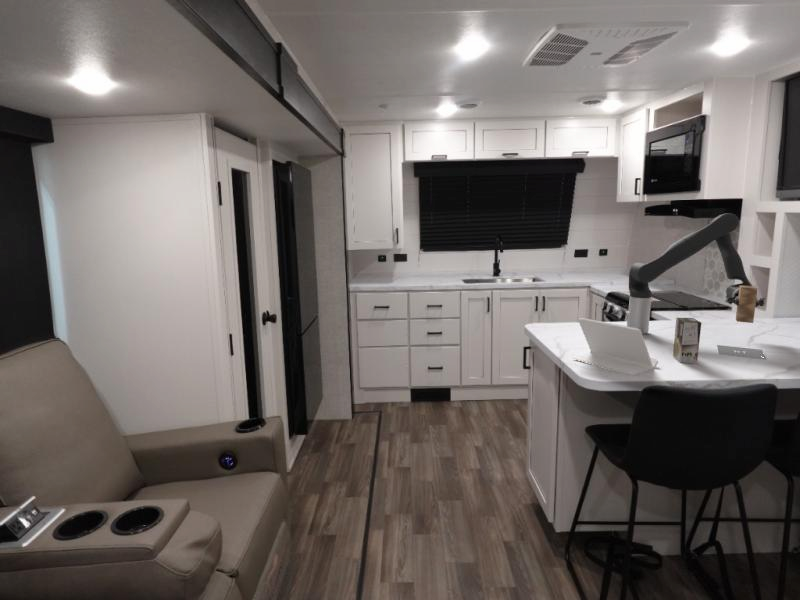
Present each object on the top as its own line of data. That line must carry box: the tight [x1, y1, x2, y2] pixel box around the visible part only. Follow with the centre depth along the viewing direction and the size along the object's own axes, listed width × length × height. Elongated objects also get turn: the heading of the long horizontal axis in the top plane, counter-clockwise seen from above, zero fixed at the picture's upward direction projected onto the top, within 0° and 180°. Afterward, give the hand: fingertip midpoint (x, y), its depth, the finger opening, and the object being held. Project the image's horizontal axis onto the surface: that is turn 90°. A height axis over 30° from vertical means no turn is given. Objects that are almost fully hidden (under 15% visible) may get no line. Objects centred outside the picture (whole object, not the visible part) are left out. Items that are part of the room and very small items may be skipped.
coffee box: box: [672, 317, 702, 364], centre depth 199 cm, size 9×6×16 cm
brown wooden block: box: [735, 285, 759, 324], centre depth 207 cm, size 6×6×14 cm
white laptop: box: [572, 317, 659, 377], centre depth 196 cm, size 18×25×17 cm
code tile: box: [716, 344, 767, 361], centre depth 210 cm, size 16×16×1 cm
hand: (747, 303), depth 204 cm, fingers closed on brown wooden block, 5 cm apart
